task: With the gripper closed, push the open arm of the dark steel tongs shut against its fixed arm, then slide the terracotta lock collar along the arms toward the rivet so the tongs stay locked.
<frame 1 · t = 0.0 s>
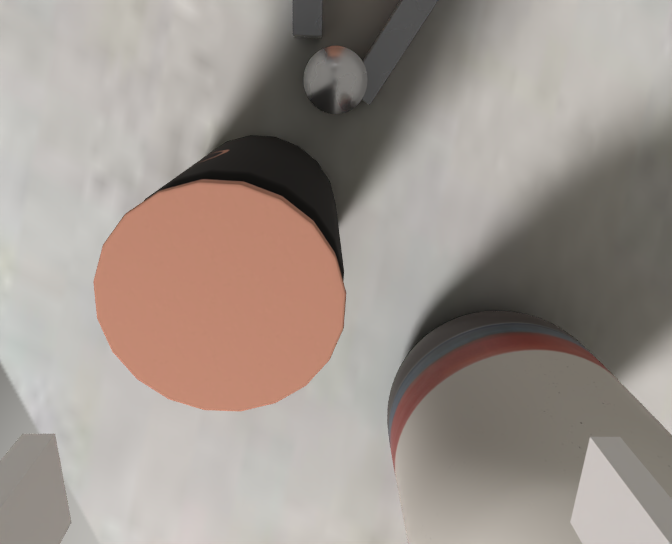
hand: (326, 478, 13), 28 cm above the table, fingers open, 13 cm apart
tongs fixed arm: (334, 80, 36), on the table
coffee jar: (263, 206, 40), on the table
vase: (478, 383, 45), on the table
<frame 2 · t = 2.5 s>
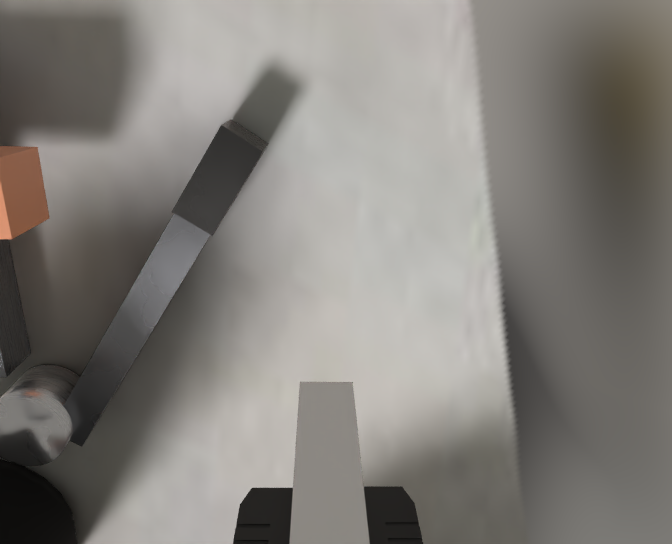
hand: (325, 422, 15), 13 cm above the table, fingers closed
tongs fixed arm: (55, 394, 30), on the table
tong arm: (114, 298, 26), point 2 cm above the table, hinge at 32.0°
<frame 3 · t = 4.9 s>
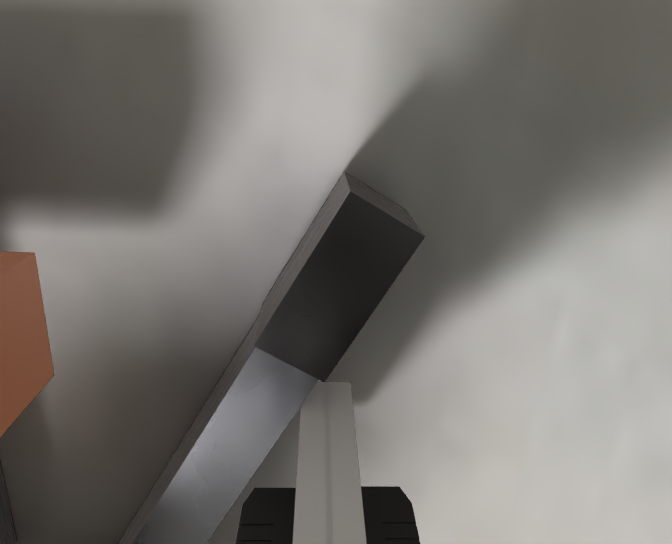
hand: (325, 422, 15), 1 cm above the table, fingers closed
tong arm: (148, 476, 15), point 2 cm above the table, hinge at 29.4°, touching gripper
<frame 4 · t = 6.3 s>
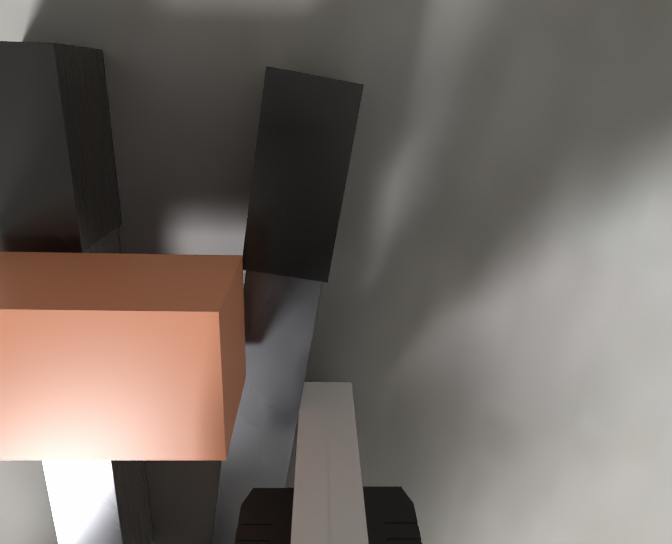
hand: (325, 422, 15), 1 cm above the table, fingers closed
lock tab: (88, 348, 11), point 5 cm above the table, slide at 0.0 cm
tong arm: (208, 444, 15), point 2 cm above the table, hinge at 8.4°, touching gripper
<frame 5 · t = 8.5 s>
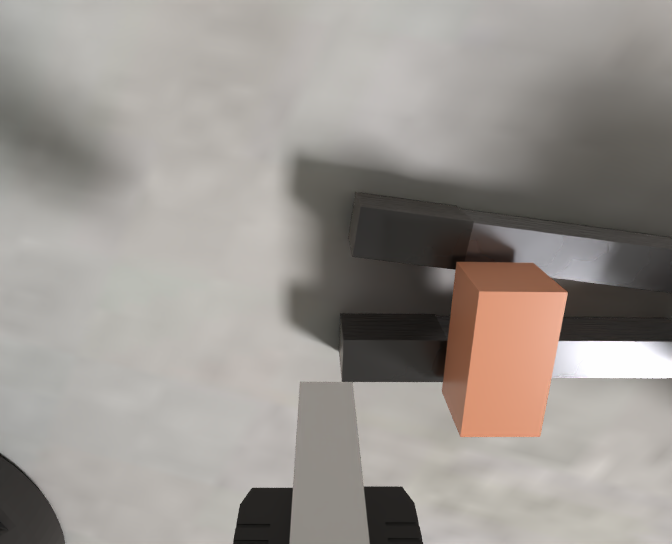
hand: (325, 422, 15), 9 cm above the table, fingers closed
lock tab: (497, 347, 20), point 5 cm above the table, slide at 0.0 cm
tong arm: (583, 287, 23), point 2 cm above the table, hinge at 6.7°
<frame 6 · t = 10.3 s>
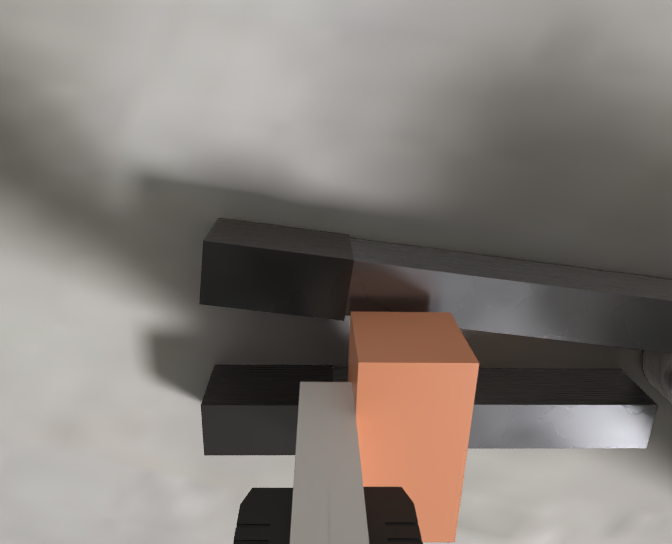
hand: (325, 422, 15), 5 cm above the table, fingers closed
lock tab: (401, 424, 16), point 5 cm above the table, slide at 0.6 cm, touching gripper
tong arm: (507, 337, 18), point 2 cm above the table, hinge at 6.7°
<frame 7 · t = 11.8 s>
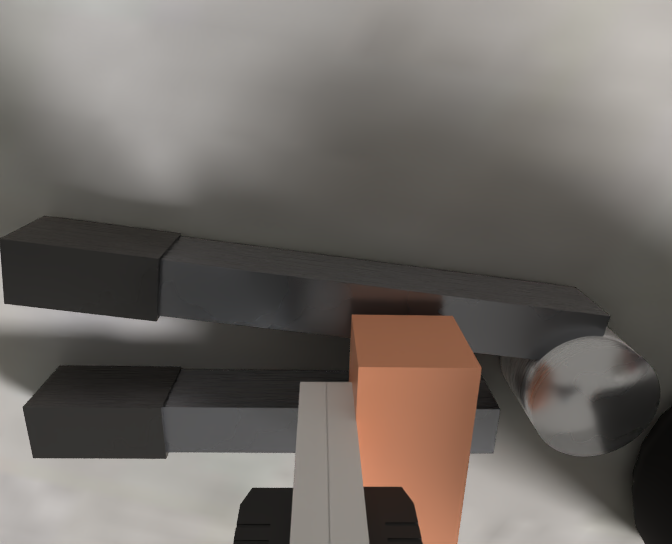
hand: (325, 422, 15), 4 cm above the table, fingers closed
tongs fixed arm: (551, 351, 20), on the table
lock tab: (402, 429, 15), point 5 cm above the table, slide at 6.2 cm, touching gripper
tong arm: (341, 339, 17), point 2 cm above the table, hinge at 6.7°
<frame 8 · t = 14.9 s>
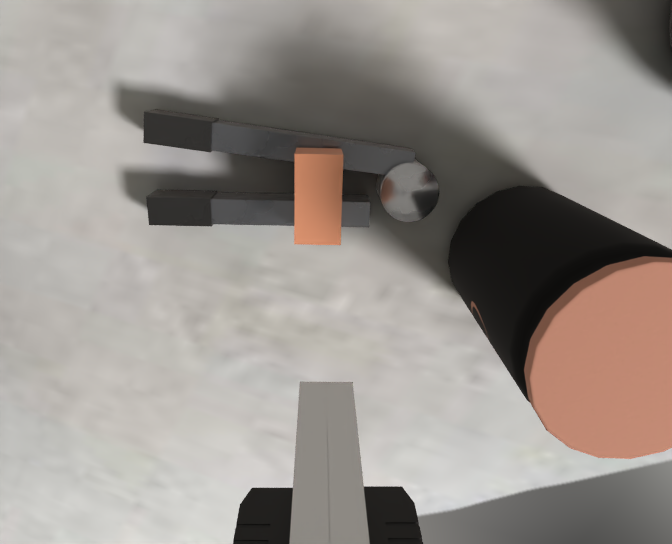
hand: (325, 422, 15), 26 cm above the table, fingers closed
tongs fixed arm: (402, 184, 40), on the table
lock tab: (318, 195, 35), point 5 cm above the table, slide at 6.2 cm
tong arm: (294, 167, 37), point 2 cm above the table, hinge at 6.7°
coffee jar: (511, 249, 42), on the table
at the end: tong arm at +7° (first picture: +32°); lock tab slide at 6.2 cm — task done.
